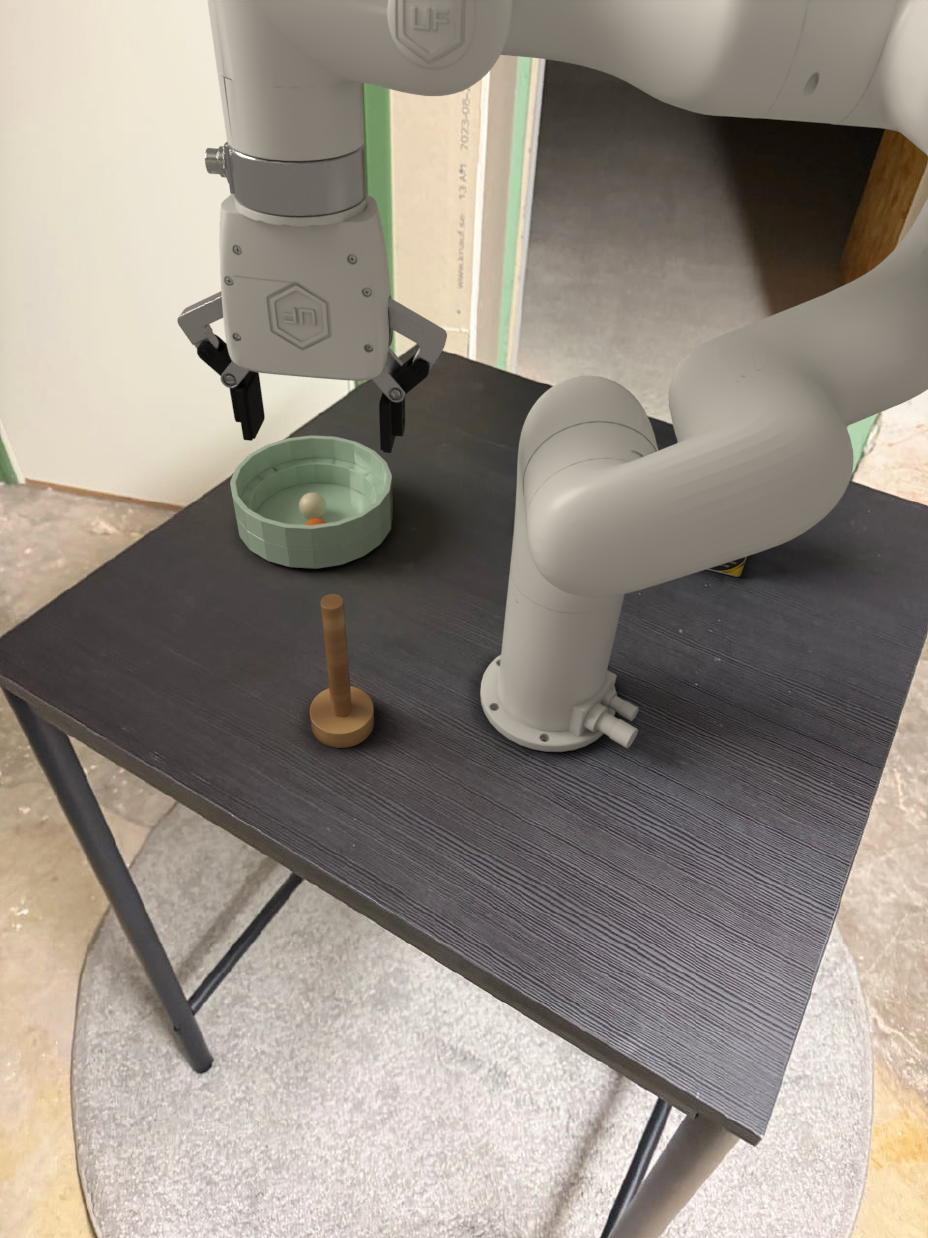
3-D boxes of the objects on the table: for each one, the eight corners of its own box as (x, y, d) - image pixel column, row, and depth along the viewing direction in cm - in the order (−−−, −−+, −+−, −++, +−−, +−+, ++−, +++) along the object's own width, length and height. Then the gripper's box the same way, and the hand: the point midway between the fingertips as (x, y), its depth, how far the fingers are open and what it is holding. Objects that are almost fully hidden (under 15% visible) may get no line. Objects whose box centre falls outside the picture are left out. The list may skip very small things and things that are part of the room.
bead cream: (298, 495, 95) (307, 521, 95) (323, 487, 96) (332, 513, 97) (292, 498, 98) (301, 523, 98) (317, 490, 99) (325, 516, 99)
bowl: (423, 517, 100) (423, 474, 96) (316, 595, 90) (311, 550, 86) (315, 461, 107) (311, 419, 103) (206, 527, 97) (196, 483, 93)
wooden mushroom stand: (383, 736, 77) (378, 614, 67) (323, 756, 75) (308, 634, 65) (361, 692, 81) (353, 570, 70) (303, 710, 79) (286, 588, 68)
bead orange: (335, 517, 94) (311, 513, 95) (320, 524, 91) (296, 520, 92) (336, 543, 95) (312, 539, 96) (321, 551, 93) (297, 547, 94)
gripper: (126, 187, 47) (184, 455, 59) (442, 211, 46) (436, 477, 58) (172, 145, 52) (217, 398, 64) (457, 167, 52) (449, 418, 64)
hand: (321, 436), depth 61 cm, fingers open, 9 cm apart
